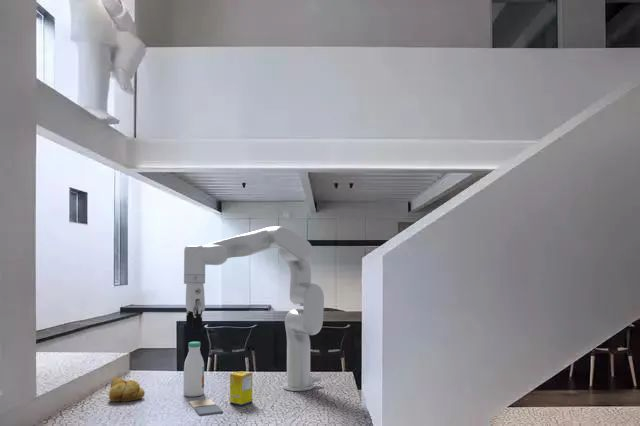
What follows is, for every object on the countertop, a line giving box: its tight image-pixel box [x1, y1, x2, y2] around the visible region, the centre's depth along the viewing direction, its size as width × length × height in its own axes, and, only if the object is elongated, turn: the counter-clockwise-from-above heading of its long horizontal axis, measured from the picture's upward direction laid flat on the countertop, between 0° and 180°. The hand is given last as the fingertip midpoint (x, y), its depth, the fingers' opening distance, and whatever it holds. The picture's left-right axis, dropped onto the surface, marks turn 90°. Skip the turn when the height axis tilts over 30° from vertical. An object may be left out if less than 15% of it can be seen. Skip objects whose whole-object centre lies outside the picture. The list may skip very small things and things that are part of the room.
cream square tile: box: [188, 398, 217, 409], centre depth 199 cm, size 8×8×1 cm
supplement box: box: [229, 370, 253, 407], centre depth 201 cm, size 6×6×11 cm
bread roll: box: [108, 376, 146, 402], centre depth 206 cm, size 13×10×8 cm
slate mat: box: [194, 404, 224, 417], centre depth 191 cm, size 8×8×1 cm
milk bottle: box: [183, 341, 205, 398], centre depth 214 cm, size 8×8×20 cm
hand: (194, 327), depth 197 cm, fingers open, 9 cm apart
